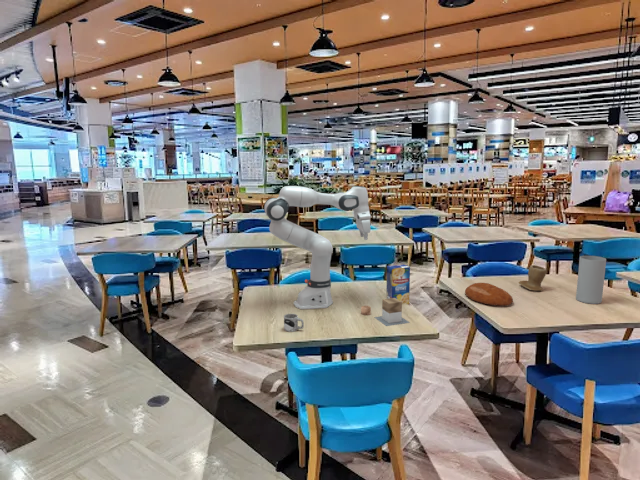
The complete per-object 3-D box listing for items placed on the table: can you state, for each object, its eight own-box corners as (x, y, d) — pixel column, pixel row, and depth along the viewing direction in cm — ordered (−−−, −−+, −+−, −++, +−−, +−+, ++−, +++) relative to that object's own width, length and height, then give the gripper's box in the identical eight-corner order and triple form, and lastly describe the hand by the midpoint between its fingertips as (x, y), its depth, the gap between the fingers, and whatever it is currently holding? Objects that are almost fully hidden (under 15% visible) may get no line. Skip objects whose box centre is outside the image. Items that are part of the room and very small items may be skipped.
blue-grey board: (386, 329, 201) (386, 326, 201) (374, 320, 213) (374, 317, 213) (409, 325, 206) (410, 322, 205) (396, 316, 218) (396, 314, 217)
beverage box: (409, 305, 236) (410, 267, 232) (391, 307, 232) (392, 268, 229) (403, 301, 242) (404, 264, 238) (386, 303, 239) (386, 266, 235)
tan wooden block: (389, 313, 204) (389, 303, 203) (382, 308, 211) (382, 299, 210) (401, 311, 206) (401, 301, 205) (394, 307, 213) (394, 297, 212)
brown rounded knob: (363, 318, 216) (363, 309, 215) (359, 315, 221) (359, 306, 220) (372, 317, 218) (372, 308, 217) (368, 314, 222) (368, 305, 221)
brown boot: (548, 292, 257) (550, 268, 254) (529, 292, 257) (531, 268, 254) (536, 285, 271) (537, 262, 269) (517, 285, 272) (519, 262, 269)
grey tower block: (388, 323, 205) (389, 313, 204) (382, 318, 211) (382, 308, 211) (401, 321, 207) (401, 311, 206) (394, 316, 214) (394, 307, 213)
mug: (281, 330, 201) (281, 317, 200) (287, 325, 207) (287, 313, 206) (301, 333, 198) (300, 320, 196) (306, 328, 204) (306, 315, 203)
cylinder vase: (576, 296, 248) (580, 254, 244) (602, 299, 241) (606, 257, 236) (574, 301, 238) (578, 258, 234) (601, 305, 231) (605, 261, 226)
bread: (489, 310, 227) (490, 294, 225) (454, 293, 257) (455, 279, 255) (523, 305, 234) (524, 290, 232) (485, 290, 263) (486, 276, 262)
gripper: (352, 212, 246) (354, 235, 249) (360, 217, 227) (362, 242, 229) (363, 211, 247) (365, 234, 250) (371, 215, 227) (373, 240, 230)
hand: (364, 238), depth 239 cm, fingers open, 8 cm apart
